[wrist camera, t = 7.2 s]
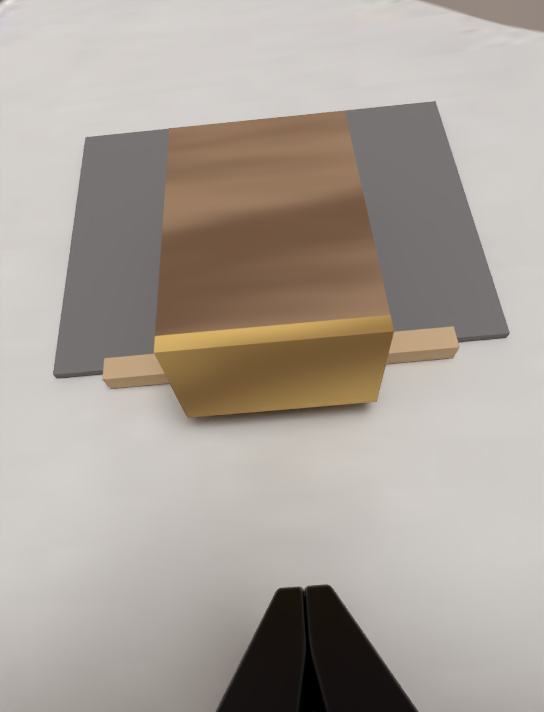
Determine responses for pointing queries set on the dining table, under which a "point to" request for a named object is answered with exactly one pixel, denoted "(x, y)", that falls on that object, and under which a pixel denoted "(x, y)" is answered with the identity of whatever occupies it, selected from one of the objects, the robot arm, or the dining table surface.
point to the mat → (387, 220)
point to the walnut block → (268, 269)
